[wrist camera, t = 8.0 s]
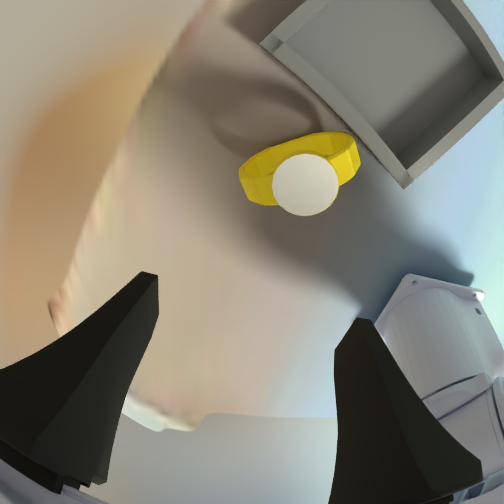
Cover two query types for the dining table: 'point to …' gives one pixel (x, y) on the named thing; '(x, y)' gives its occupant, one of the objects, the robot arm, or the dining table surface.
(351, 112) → the box
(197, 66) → the dining table surface
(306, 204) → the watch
